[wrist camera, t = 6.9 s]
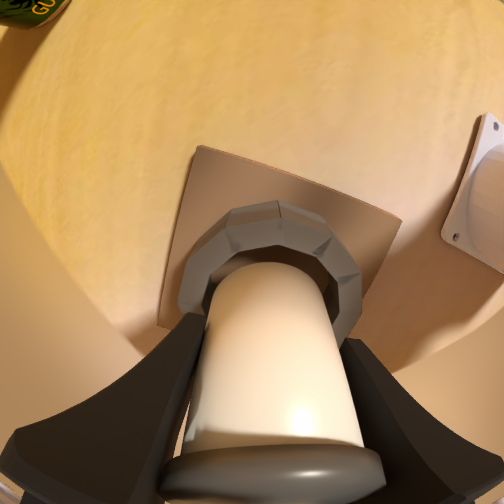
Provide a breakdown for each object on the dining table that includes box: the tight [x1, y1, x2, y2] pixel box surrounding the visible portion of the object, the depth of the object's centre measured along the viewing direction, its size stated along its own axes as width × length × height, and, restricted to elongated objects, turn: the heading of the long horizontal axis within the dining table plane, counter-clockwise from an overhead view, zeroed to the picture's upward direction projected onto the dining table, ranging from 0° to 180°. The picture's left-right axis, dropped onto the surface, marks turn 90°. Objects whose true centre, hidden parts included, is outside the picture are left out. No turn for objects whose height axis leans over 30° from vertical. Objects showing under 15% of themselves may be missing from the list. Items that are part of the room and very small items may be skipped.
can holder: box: [157, 145, 402, 348], centre depth 13 cm, size 10×10×3 cm
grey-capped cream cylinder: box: [159, 262, 386, 504], centre depth 8 cm, size 5×5×8 cm
